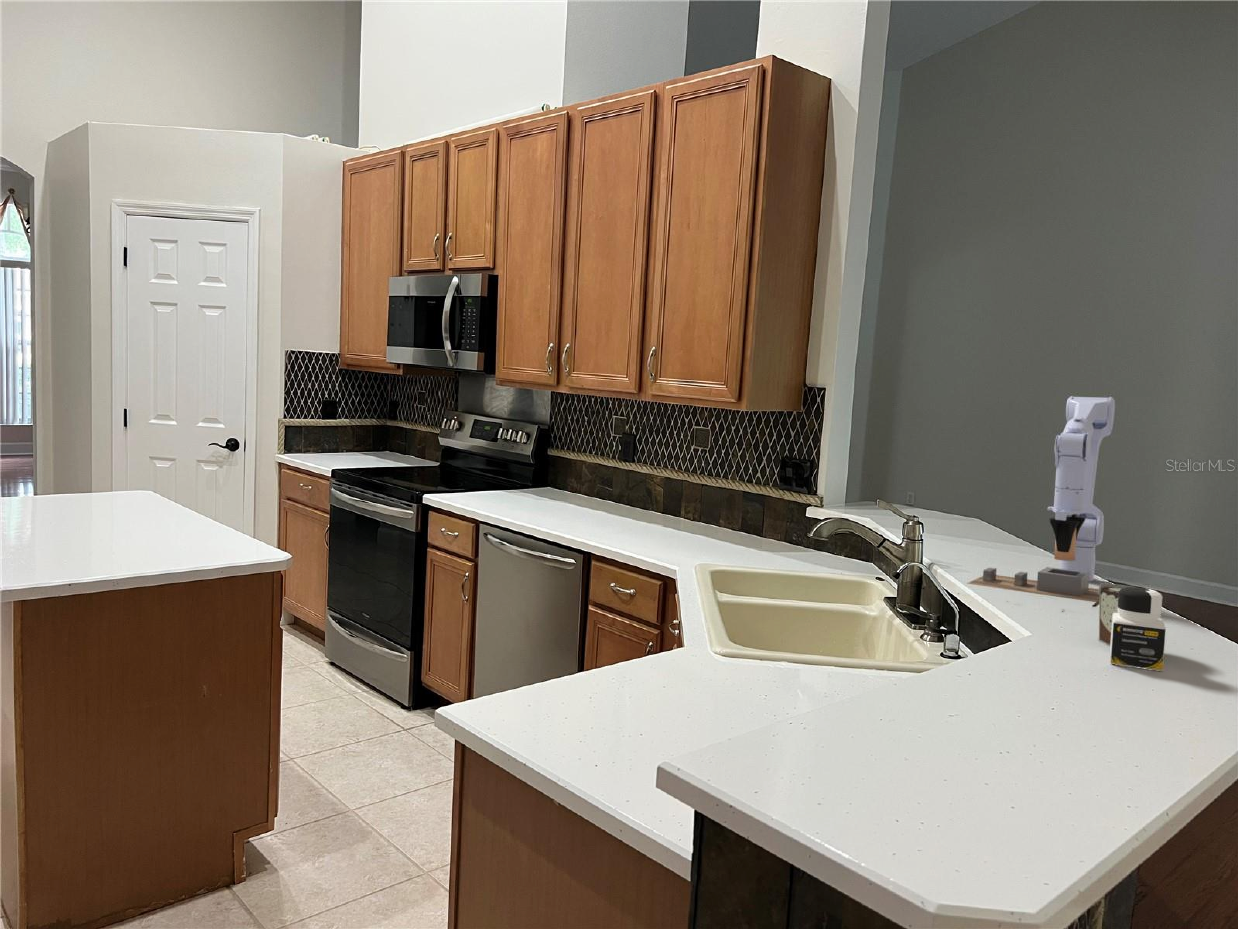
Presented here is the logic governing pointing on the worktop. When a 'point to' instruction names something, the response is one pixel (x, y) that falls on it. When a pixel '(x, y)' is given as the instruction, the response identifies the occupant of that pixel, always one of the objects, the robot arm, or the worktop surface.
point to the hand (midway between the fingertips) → (1065, 550)
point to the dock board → (1027, 585)
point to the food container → (1107, 609)
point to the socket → (1063, 581)
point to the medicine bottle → (1138, 629)
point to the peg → (1067, 555)
